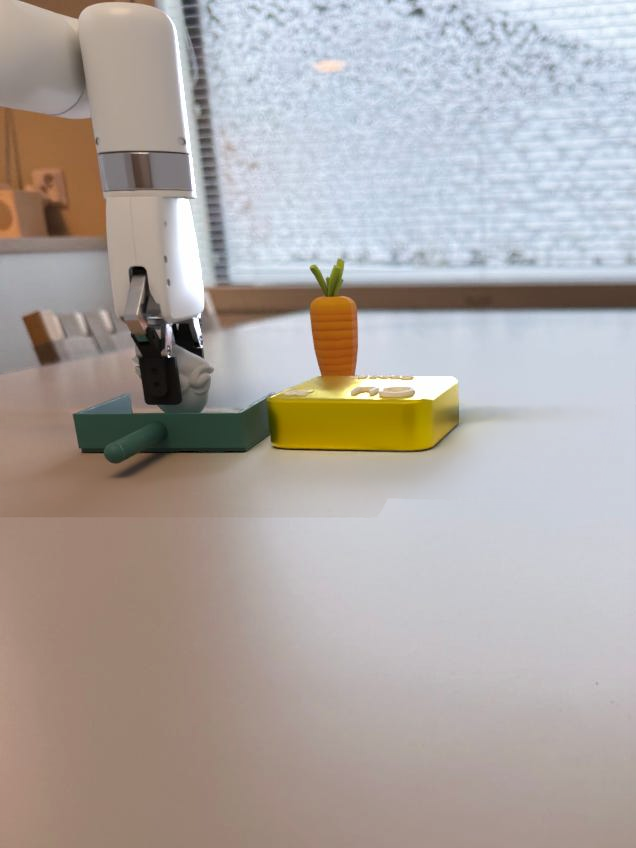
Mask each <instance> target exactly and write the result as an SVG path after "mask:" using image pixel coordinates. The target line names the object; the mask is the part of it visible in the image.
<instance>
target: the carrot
mask: <svg viewBox="0 0 636 848" xmlns="http://www.w3.org/2000/svg"><path fill="white" fill-rule="evenodd" d="M309 270H310V272H311V273H312V275H313V276H314V278H315V279H316V281H317V283H318V285H319V287H320V289H321V290H322V292H323V294H324V295H322V296H318V297H315V298H314V299H313V300H312V301H311V303H310V305H309V317H310V328H311V337H312V342H313V349H314V354H315V357H316V362H317V365H318V369H319V372H320V376H356V371H357V369H356V368H357V361H358V353H359V352H358V351H359V327H358V326H359V323H358V308H357V304H356V302H355V301H354V299H352V298H351V297H349V296H345V295H339V291H340V289H341V287H342V285H343V283H344V279H343V274H344V270H345V260H344V259H342V258H337V261H336V264H333V267H332V269H331V272H330V275H329V276H326V278H324V276H323V273H322V272H321V269H320V268H319V266H318V265H316V264H311V265H310V266H309Z"/></svg>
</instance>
